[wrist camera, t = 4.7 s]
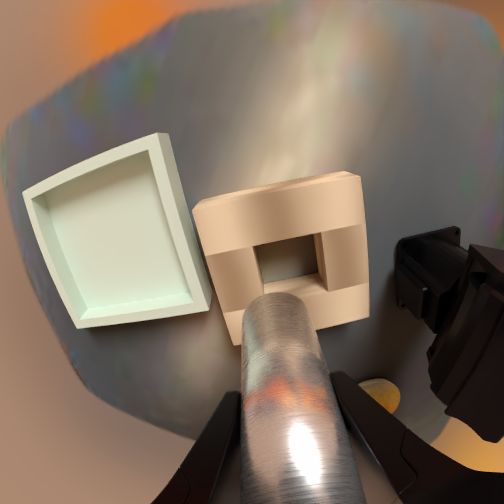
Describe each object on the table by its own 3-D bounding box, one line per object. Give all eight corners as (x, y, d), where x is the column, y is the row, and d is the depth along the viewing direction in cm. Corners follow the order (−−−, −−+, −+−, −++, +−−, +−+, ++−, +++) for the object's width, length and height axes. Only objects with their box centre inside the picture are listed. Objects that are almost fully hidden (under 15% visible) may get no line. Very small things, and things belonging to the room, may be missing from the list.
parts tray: (168, 133, 17) (157, 132, 15) (212, 292, 22) (208, 310, 19) (40, 185, 18) (22, 192, 16) (89, 312, 22) (77, 328, 20)
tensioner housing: (344, 171, 18) (360, 176, 16) (356, 296, 22) (369, 316, 19) (200, 200, 19) (191, 210, 16) (235, 321, 23) (233, 345, 20)
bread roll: (405, 374, 26) (419, 399, 23) (370, 421, 29) (379, 445, 26) (343, 373, 26) (354, 402, 22) (312, 423, 29) (318, 450, 25)
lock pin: (305, 285, 12) (377, 499, 3) (312, 339, 13) (362, 523, 4) (234, 299, 12) (223, 523, 4) (250, 352, 13) (255, 541, 5)
